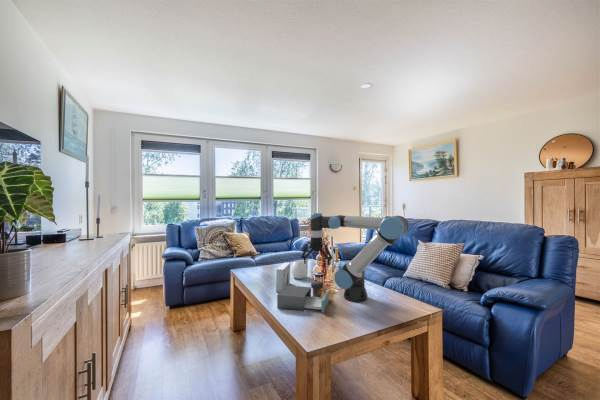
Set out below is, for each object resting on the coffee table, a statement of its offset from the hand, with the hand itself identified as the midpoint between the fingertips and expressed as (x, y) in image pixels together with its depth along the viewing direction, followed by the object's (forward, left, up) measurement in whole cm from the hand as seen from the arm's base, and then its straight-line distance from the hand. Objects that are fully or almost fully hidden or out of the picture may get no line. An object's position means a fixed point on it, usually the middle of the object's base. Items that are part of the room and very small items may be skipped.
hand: (316, 269), depth 172 cm
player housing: (+11, +14, -18) cm, 25 cm away
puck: (0, 0, -11) cm, 11 cm away
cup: (+23, -40, -18) cm, 50 cm away
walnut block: (0, 0, -18) cm, 18 cm away
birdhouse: (-1, +14, -18) cm, 23 cm away
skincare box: (+28, -14, -18) cm, 36 cm away
